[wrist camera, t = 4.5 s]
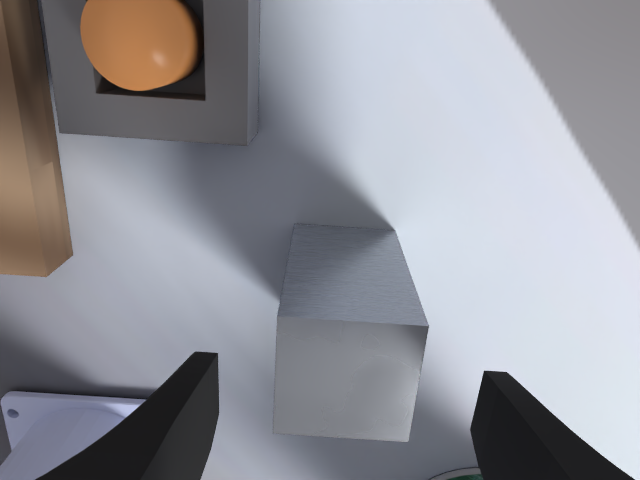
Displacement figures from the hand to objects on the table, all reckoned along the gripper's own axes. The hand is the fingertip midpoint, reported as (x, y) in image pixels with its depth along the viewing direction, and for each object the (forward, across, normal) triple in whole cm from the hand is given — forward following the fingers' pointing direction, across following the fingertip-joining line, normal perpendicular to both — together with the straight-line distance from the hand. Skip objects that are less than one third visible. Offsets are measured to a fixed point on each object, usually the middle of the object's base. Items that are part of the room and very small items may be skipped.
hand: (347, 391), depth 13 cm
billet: (+7, 0, 0) cm, 7 cm away
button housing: (+7, +6, -8) cm, 13 cm away
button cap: (+6, +6, -8) cm, 12 cm away
